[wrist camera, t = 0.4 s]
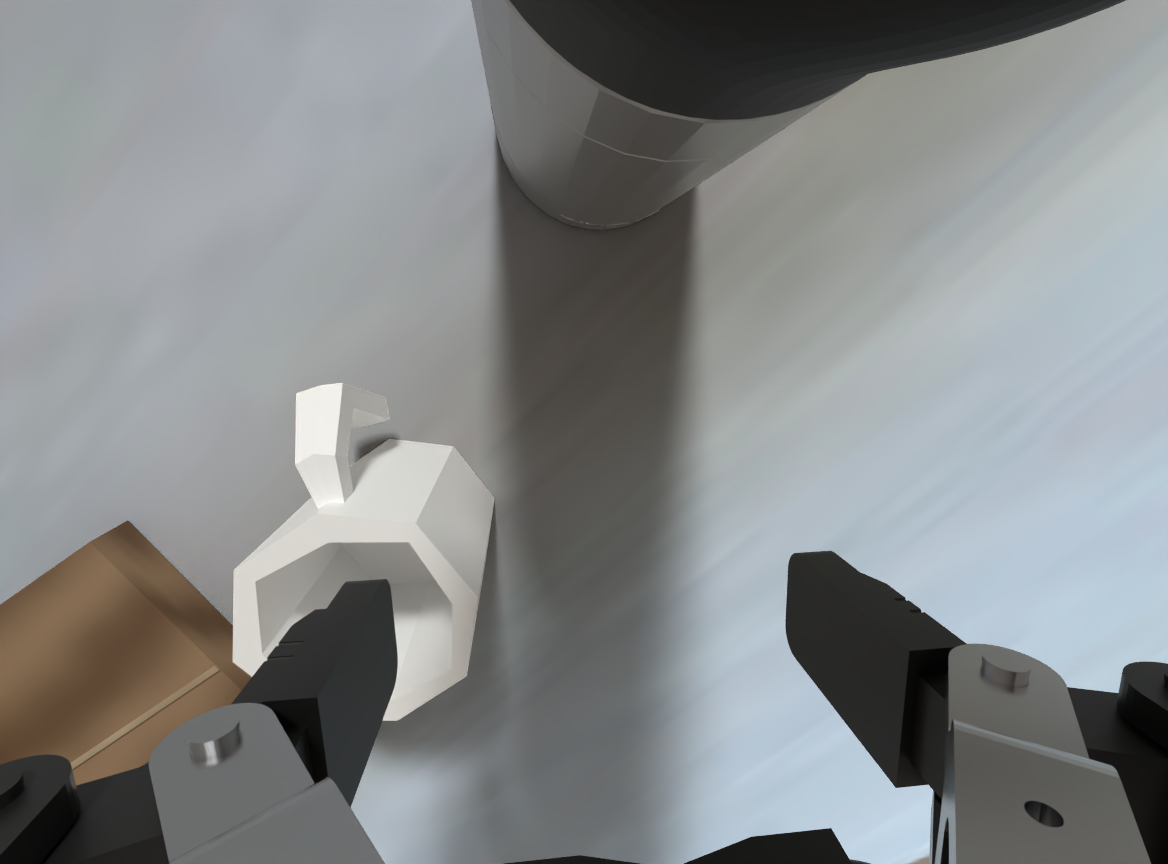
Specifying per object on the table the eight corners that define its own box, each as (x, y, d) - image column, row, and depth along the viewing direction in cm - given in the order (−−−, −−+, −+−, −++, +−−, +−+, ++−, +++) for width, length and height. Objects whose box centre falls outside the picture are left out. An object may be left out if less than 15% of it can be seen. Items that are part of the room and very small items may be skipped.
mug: (514, 566, 30) (507, 690, 21) (355, 607, 30) (274, 753, 20) (449, 345, 27) (406, 372, 18) (271, 388, 27) (131, 440, 17)
